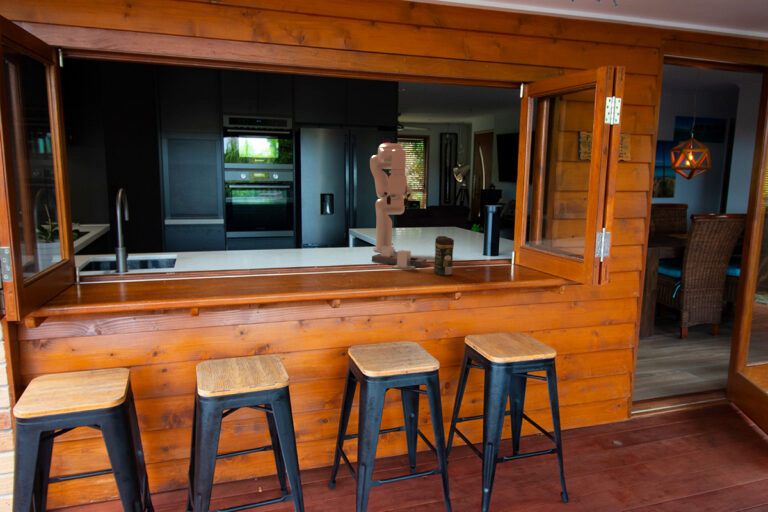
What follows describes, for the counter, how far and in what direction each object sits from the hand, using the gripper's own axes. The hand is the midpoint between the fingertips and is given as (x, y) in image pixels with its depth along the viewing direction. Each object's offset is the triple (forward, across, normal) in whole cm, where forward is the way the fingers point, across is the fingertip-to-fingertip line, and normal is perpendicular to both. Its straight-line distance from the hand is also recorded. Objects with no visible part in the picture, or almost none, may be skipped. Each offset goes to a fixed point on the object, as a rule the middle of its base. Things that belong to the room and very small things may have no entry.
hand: (397, 205), depth 282 cm
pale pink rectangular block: (+30, +12, -17) cm, 36 cm away
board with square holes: (+30, +5, -6) cm, 31 cm away
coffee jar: (+31, +34, -20) cm, 50 cm away
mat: (+30, +12, -17) cm, 37 cm away
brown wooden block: (+30, -2, -6) cm, 31 cm away
